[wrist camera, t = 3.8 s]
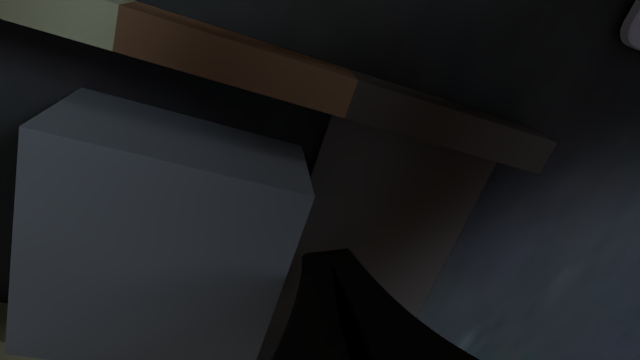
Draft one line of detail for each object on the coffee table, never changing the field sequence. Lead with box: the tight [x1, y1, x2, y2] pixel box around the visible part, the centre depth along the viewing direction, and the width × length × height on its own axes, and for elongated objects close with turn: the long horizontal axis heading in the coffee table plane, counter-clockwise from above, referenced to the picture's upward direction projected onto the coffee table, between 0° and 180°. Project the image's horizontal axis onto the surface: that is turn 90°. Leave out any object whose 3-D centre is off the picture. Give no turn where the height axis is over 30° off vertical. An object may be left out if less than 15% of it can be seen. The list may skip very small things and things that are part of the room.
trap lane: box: [0, 0, 557, 360], centre depth 12 cm, size 21×11×2 cm, turn 72°
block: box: [5, 87, 315, 360], centre depth 12 cm, size 6×6×4 cm
